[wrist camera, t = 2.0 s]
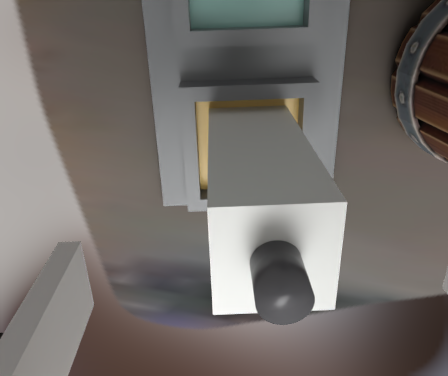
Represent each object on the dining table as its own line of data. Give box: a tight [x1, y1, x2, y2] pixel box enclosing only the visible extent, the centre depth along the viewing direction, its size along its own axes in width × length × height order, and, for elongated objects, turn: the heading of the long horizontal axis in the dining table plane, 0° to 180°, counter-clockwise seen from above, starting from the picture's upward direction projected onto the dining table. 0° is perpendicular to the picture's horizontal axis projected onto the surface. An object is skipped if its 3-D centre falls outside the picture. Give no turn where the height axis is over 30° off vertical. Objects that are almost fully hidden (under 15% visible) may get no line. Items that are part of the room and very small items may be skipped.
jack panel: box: [142, 0, 350, 212], centre depth 23 cm, size 18×11×2 cm, turn 2°
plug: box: [207, 105, 347, 325], centre depth 19 cm, size 5×4×14 cm
